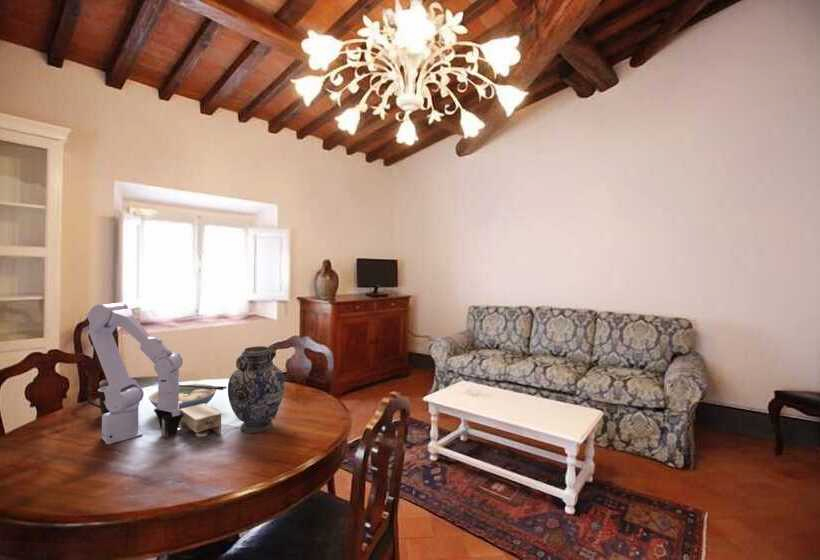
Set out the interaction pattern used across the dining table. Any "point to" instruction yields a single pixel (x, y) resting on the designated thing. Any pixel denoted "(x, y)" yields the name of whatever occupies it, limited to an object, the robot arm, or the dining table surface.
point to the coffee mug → (102, 400)
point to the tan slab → (201, 418)
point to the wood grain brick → (179, 431)
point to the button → (202, 433)
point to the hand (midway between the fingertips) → (168, 432)
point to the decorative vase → (256, 388)
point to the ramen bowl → (191, 394)
